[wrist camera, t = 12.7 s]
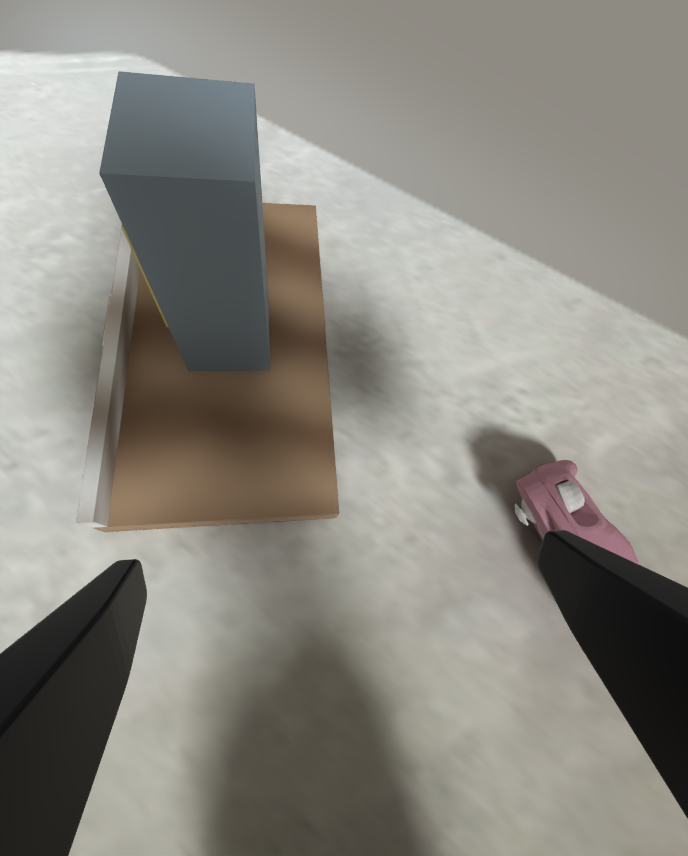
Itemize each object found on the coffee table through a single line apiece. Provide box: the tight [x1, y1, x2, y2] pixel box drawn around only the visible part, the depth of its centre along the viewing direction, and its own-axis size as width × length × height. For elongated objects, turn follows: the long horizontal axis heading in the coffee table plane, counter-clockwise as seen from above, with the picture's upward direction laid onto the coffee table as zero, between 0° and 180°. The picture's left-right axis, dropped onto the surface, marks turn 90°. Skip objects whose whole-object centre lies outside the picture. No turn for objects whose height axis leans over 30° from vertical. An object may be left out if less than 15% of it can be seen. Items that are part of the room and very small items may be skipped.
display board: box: [76, 203, 339, 532], centre depth 25 cm, size 22×12×3 cm, turn 5°
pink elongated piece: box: [515, 460, 639, 564], centre depth 21 cm, size 10×5×7 cm, turn 23°
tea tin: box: [100, 72, 270, 371], centre depth 19 cm, size 5×5×12 cm
